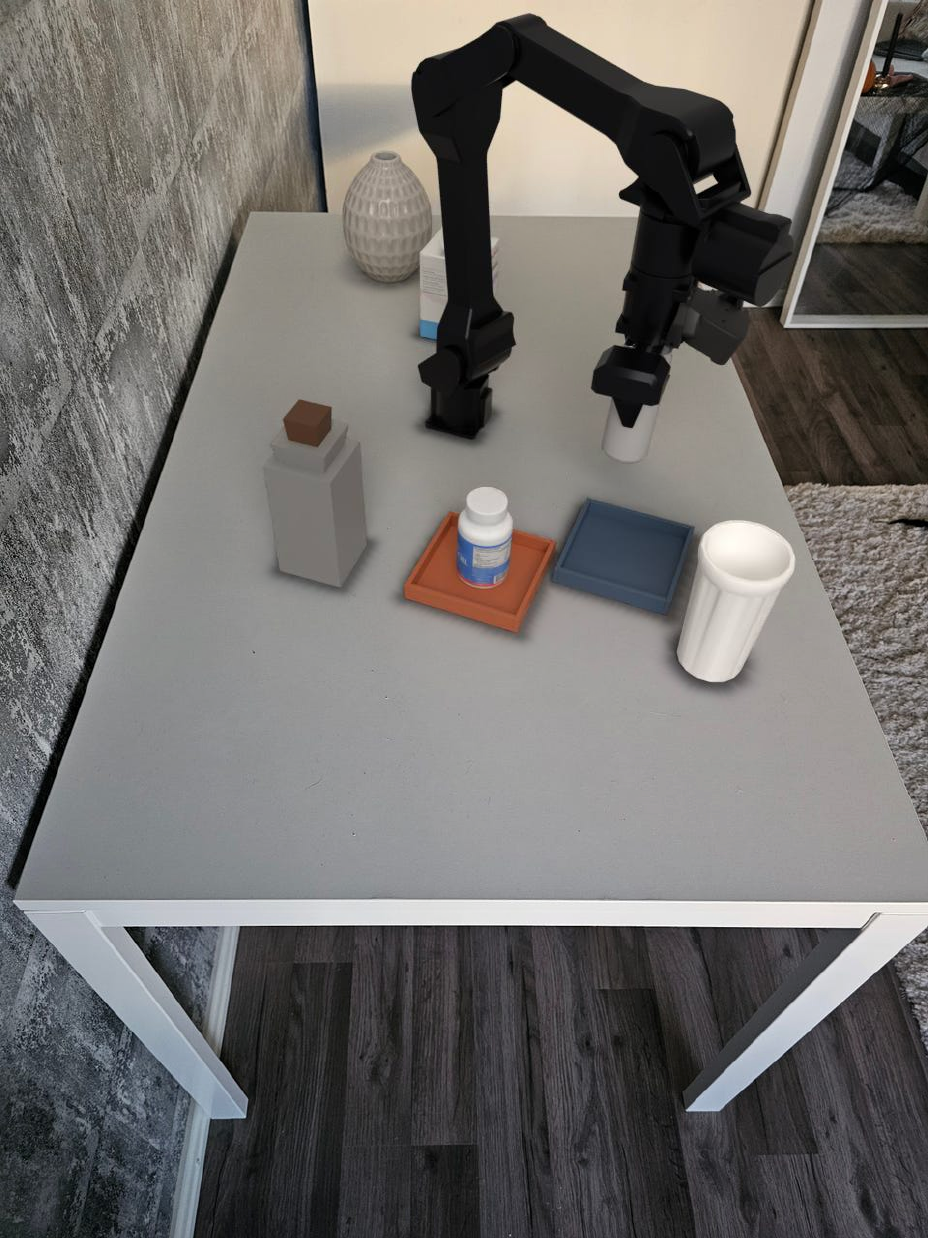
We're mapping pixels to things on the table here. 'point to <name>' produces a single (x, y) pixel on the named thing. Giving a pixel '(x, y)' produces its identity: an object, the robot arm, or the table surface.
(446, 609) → the terracotta tray
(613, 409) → the beverage can
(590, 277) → the table surface
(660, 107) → the robot arm
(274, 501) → the perfume bottle
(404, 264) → the vase
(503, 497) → the pill bottle
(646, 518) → the slate tray
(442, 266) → the ink box
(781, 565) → the cup
